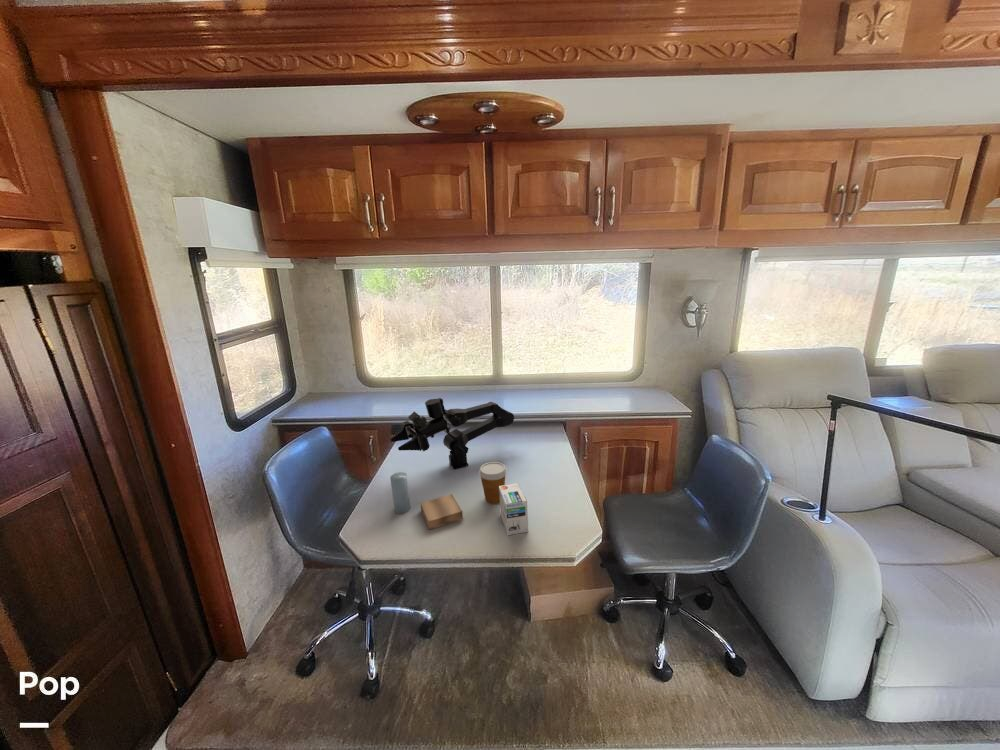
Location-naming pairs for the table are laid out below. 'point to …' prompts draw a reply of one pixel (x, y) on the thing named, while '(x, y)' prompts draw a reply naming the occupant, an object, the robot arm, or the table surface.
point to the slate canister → (400, 492)
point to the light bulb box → (513, 509)
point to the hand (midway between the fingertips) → (394, 444)
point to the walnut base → (441, 511)
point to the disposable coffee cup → (492, 480)
